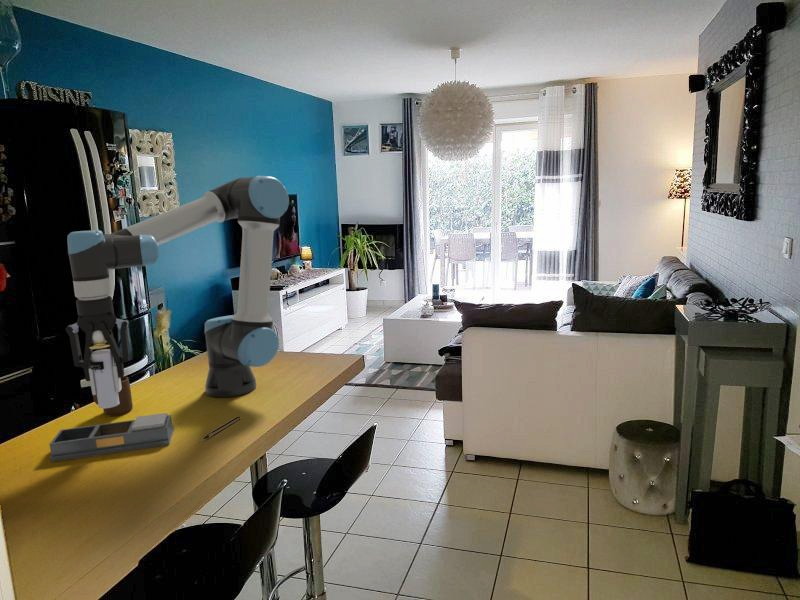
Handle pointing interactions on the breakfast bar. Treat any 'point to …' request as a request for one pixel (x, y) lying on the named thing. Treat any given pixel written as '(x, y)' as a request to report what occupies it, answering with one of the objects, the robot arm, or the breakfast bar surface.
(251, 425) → the breakfast bar surface
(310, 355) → the breakfast bar surface
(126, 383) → the mug
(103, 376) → the perfume bottle
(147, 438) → the rack
